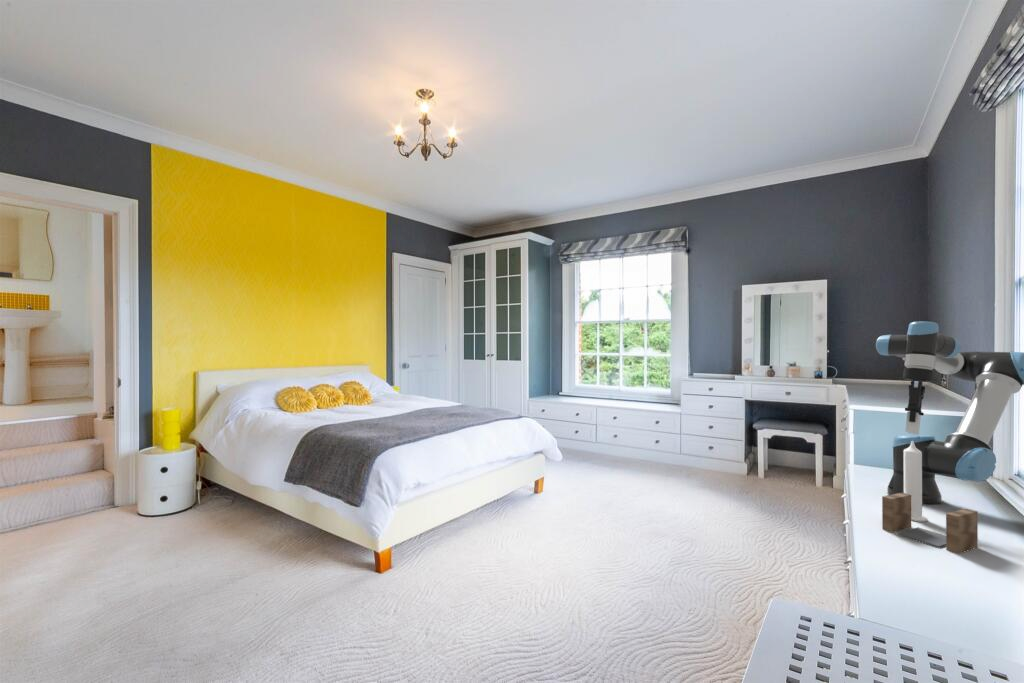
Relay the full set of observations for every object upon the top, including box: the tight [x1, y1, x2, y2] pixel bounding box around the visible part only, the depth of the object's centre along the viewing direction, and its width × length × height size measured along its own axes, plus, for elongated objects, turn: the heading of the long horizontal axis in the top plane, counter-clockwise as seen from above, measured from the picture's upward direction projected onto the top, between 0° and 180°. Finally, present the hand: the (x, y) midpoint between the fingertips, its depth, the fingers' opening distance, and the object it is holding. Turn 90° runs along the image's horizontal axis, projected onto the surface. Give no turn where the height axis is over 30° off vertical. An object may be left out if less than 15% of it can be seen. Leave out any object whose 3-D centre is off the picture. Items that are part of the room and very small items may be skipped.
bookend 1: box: [881, 493, 912, 533], centre depth 142 cm, size 10×2×10 cm, turn 113°
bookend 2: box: [945, 508, 979, 554], centre depth 127 cm, size 10×2×10 cm, turn 113°
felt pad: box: [896, 527, 946, 549], centre depth 134 cm, size 11×10×1 cm
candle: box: [904, 441, 929, 523], centre depth 151 cm, size 7×7×25 cm
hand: (912, 433), depth 150 cm, fingers open, 13 cm apart
